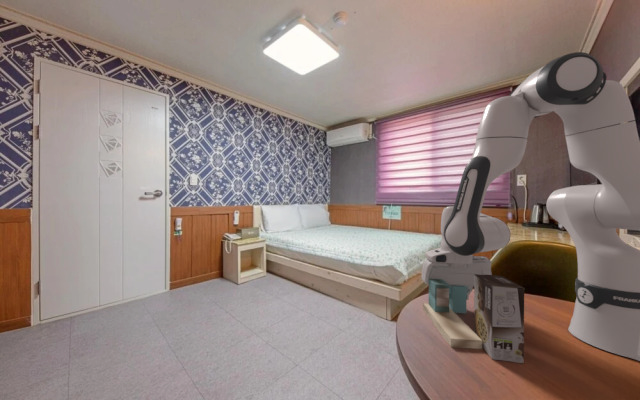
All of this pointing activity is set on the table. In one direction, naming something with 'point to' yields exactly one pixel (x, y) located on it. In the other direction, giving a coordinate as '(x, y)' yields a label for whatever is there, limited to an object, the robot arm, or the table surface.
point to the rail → (448, 318)
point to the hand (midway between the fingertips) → (455, 298)
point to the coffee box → (499, 317)
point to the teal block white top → (458, 298)
